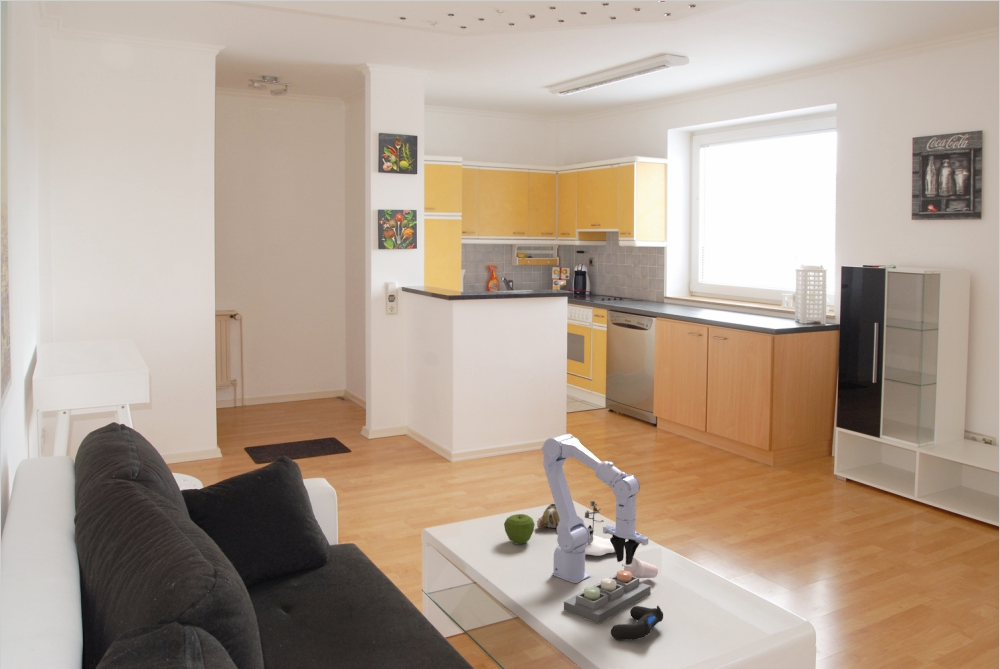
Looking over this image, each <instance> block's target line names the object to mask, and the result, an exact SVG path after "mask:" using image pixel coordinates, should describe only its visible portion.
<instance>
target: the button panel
mask: <svg viewBox="0 0 1000 669" xmlns="http://www.w3.org/2000/svg"><path fill="white" fill-rule="evenodd" d="M607 579H613V580H615V581H616V590H614V591H612V592H609V591H606V590H603V589H601V581H600V582H599V583H597V584H595V585H593V586H592V587H595V588H598V589H599V590H600V598H599V599H597V600H596V601H592V600H589V599H587V598H584V590H583V591H582V592H579V593H578V594H576V595H573V596H572V597H570V598H568V599H566V600H564V601H563V611H565V612H568V613H570V614H574V615H575V616H577V617H580V618H584V619H585V620H588V621H590V622H592V623H595V624H598V625H600V624H601V623H603V622H605V621H607V620H608V619H610V618H612V617H614V616H615V615H616V614H618V613H620V612H621V611H623V610H626V609H628V607H630V606H632V605H634V604H635V603H638V602H639V601H641V600H643V599H644V598H645V597H648V596H650V595H651V588H652V587H651V585H649V584H647V583H644V582H641V581H640V578H637V577H634V576H632V581H631V582H629V583H623V582H620V581H617V573H616V574H614V575H612V576H610V577H608V578H607Z"/></svg>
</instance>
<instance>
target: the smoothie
mask: <svg viewBox="0 0 1000 669" xmlns="http://www.w3.org/2000/svg"><path fill="white" fill-rule="evenodd" d="M621 566H622V567H624V568H623V569H624V570H623V571H629V572H631V573H632V576H634V577H637V578H639V579H653V578H654V579H655V578H656V577H657V576H658V573H659V572H658V567H657V566H656V565H655V564H652V563H648V562H646V561H643V560H641V559H639V558H637V557H633V560H632V563H631V564H629V565H626V561H625V562H624V563H623V564H621Z"/></svg>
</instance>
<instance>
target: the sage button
mask: <svg viewBox="0 0 1000 669" xmlns="http://www.w3.org/2000/svg"><path fill="white" fill-rule="evenodd" d="M583 591H584V598H587V599H589V600H592V601H596V600H597V599H599V598H600V590H599V589H598V588H595V587H593V586H588V587H585V588H584V590H583Z"/></svg>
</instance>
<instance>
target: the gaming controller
mask: <svg viewBox="0 0 1000 669" xmlns="http://www.w3.org/2000/svg"><path fill="white" fill-rule="evenodd" d="M629 613H630V617H631V618H632V619H633V620H635V621H636V622H635V623H632V624H631V623H630V624H629V623H623V624H621V623H619V624H615V625H613V626H612V627H611V628H610V635H611V637H612V638H613V639H614V640H616V641H636V640H638V639H643V638H645V637H647V636H648V635H650V634H651V633H652V630H653V628H655V626H656V625H657V624H658V623H660V622H662V621H663V620H664V612H663V611H662V609H661V608H660V605H656V607H655V608H653V607H652V608H650V607H646V606H642V605H634V606H632V607H631V608H630V612H629Z"/></svg>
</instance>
